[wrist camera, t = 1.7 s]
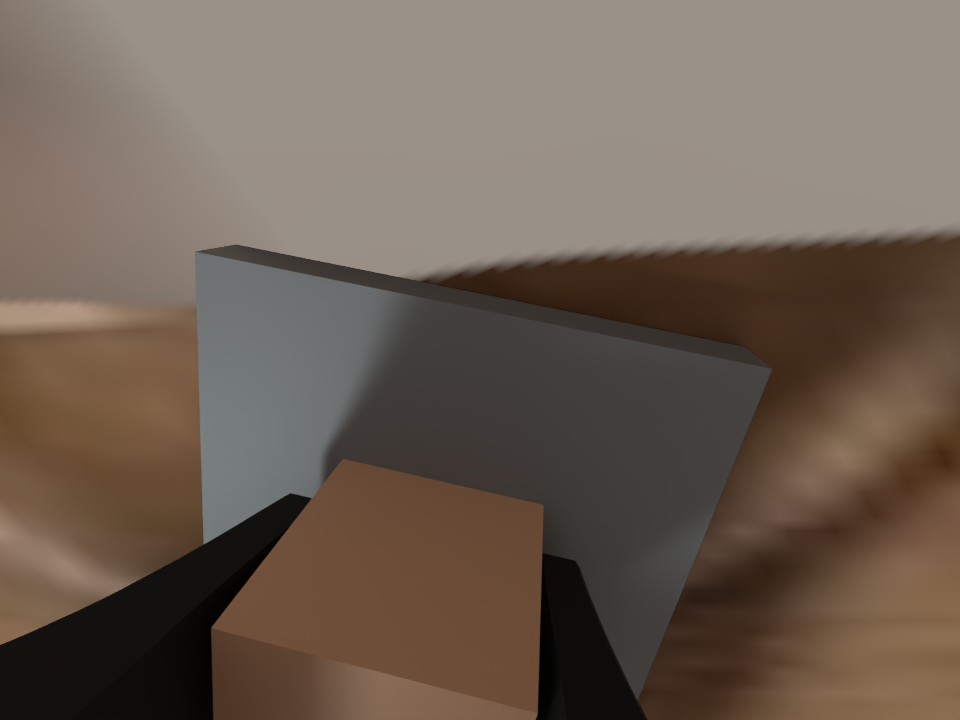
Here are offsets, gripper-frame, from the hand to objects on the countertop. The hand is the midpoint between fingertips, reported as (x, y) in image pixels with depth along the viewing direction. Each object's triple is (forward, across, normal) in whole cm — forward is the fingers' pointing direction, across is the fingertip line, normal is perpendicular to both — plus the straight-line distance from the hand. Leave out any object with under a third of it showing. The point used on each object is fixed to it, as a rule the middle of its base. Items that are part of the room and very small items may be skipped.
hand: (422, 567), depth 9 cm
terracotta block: (+1, 0, +4) cm, 4 cm away
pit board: (+2, 0, +6) cm, 6 cm away
